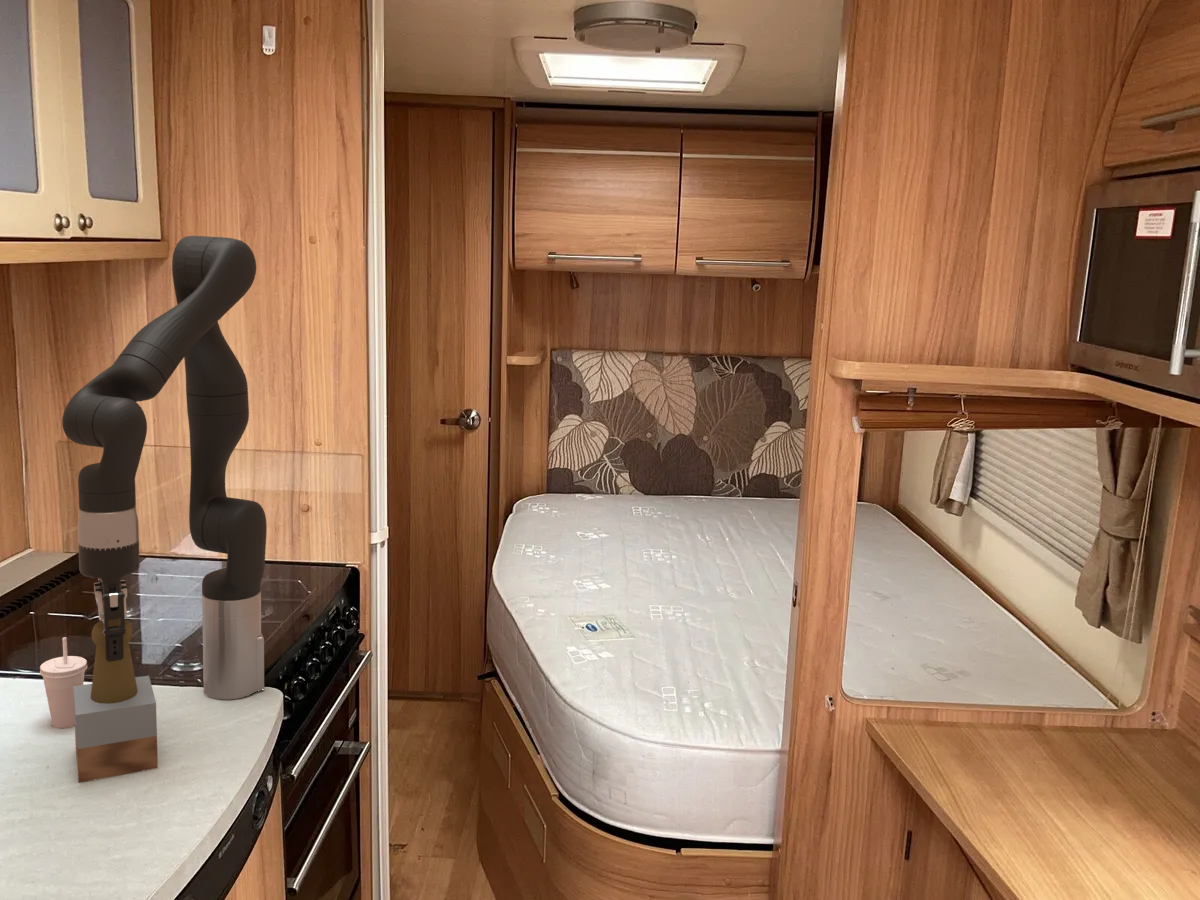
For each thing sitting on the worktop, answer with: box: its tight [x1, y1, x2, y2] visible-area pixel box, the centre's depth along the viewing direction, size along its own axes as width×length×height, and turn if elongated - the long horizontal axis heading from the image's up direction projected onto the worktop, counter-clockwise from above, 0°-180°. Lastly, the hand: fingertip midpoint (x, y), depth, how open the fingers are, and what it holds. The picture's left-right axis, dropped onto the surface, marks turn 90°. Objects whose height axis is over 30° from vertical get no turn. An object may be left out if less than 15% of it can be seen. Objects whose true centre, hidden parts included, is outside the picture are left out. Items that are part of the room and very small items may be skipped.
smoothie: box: [39, 636, 88, 729], centre depth 149 cm, size 6×6×14 cm
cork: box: [91, 619, 138, 704], centre depth 138 cm, size 6×6×11 cm
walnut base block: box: [74, 729, 159, 784], centre depth 140 cm, size 10×10×5 cm
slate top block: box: [73, 675, 158, 749], centre depth 139 cm, size 10×10×5 cm
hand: (112, 648), depth 138 cm, fingers open, 8 cm apart
